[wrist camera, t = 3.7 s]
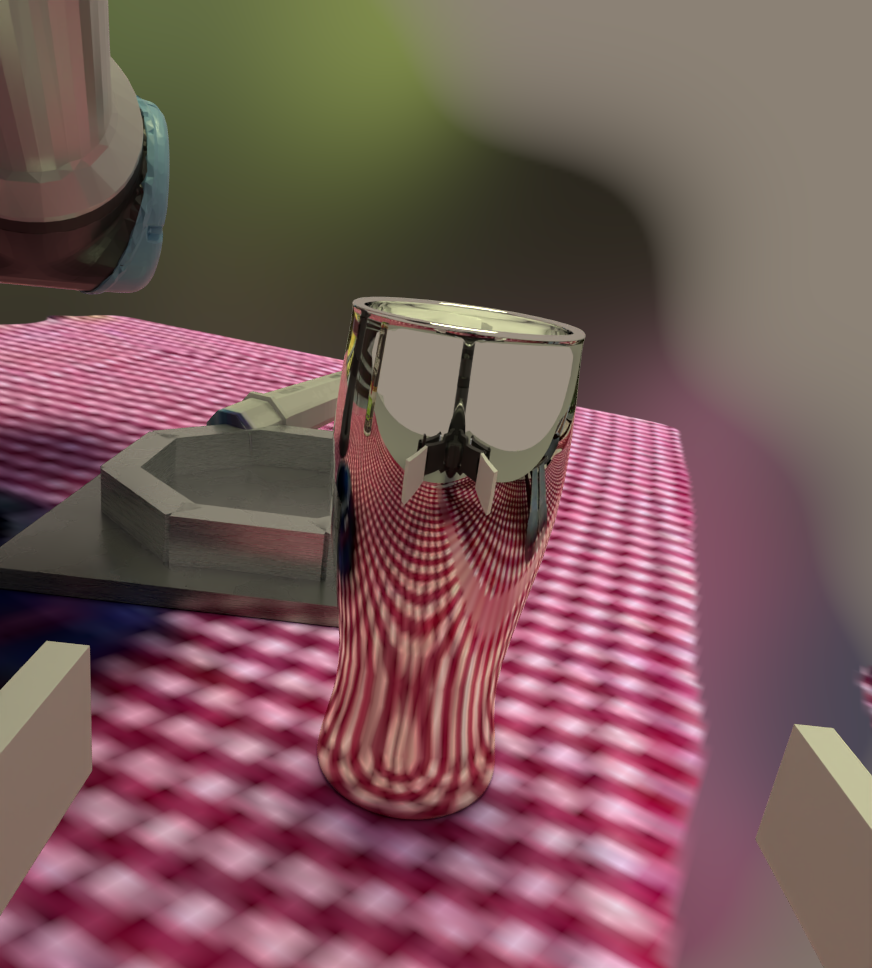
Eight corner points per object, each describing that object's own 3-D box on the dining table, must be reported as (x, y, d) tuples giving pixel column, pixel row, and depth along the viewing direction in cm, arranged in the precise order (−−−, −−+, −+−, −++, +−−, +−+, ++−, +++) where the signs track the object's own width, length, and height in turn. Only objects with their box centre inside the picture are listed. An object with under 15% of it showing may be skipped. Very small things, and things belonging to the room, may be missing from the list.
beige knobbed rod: (195, 400, 49) (392, 330, 70) (204, 491, 52) (391, 398, 72) (257, 416, 47) (441, 339, 67) (263, 509, 50) (438, 409, 70)
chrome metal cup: (483, 862, 22) (583, 348, 17) (266, 792, 23) (302, 302, 18) (520, 724, 28) (600, 325, 23) (348, 676, 30) (391, 291, 25)
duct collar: (-23, 585, 32) (-28, 513, 31) (155, 446, 53) (156, 400, 52) (478, 642, 33) (490, 574, 32) (460, 484, 54) (467, 439, 53)
